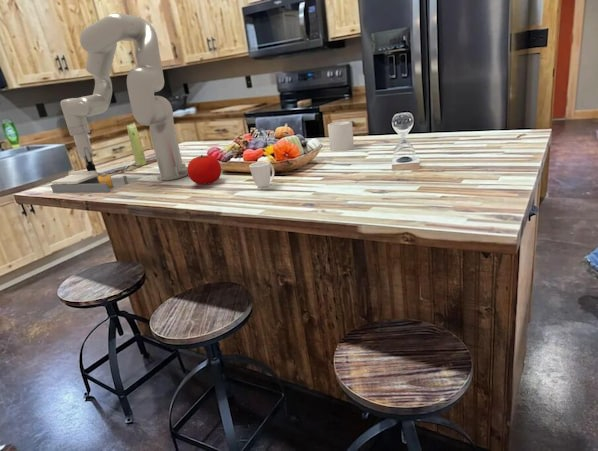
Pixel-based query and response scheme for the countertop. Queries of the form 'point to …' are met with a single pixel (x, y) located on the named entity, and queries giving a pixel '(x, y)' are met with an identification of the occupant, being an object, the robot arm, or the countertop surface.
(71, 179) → the cover
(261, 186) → the cup
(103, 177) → the orange cube
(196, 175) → the tomato
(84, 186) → the grey tray
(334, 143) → the mug
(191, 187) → the countertop surface
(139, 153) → the tube
